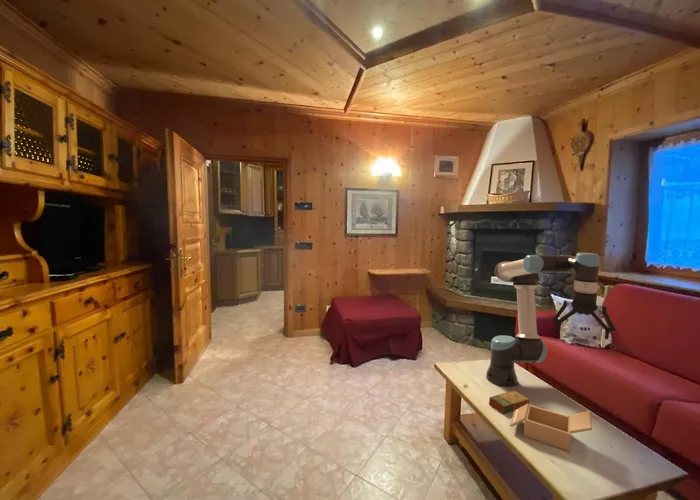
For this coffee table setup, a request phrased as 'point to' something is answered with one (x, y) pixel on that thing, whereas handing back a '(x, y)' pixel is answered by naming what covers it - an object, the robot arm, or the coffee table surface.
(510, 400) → the carton
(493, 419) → the coffee table surface
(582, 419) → the flap
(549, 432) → the shipping box
